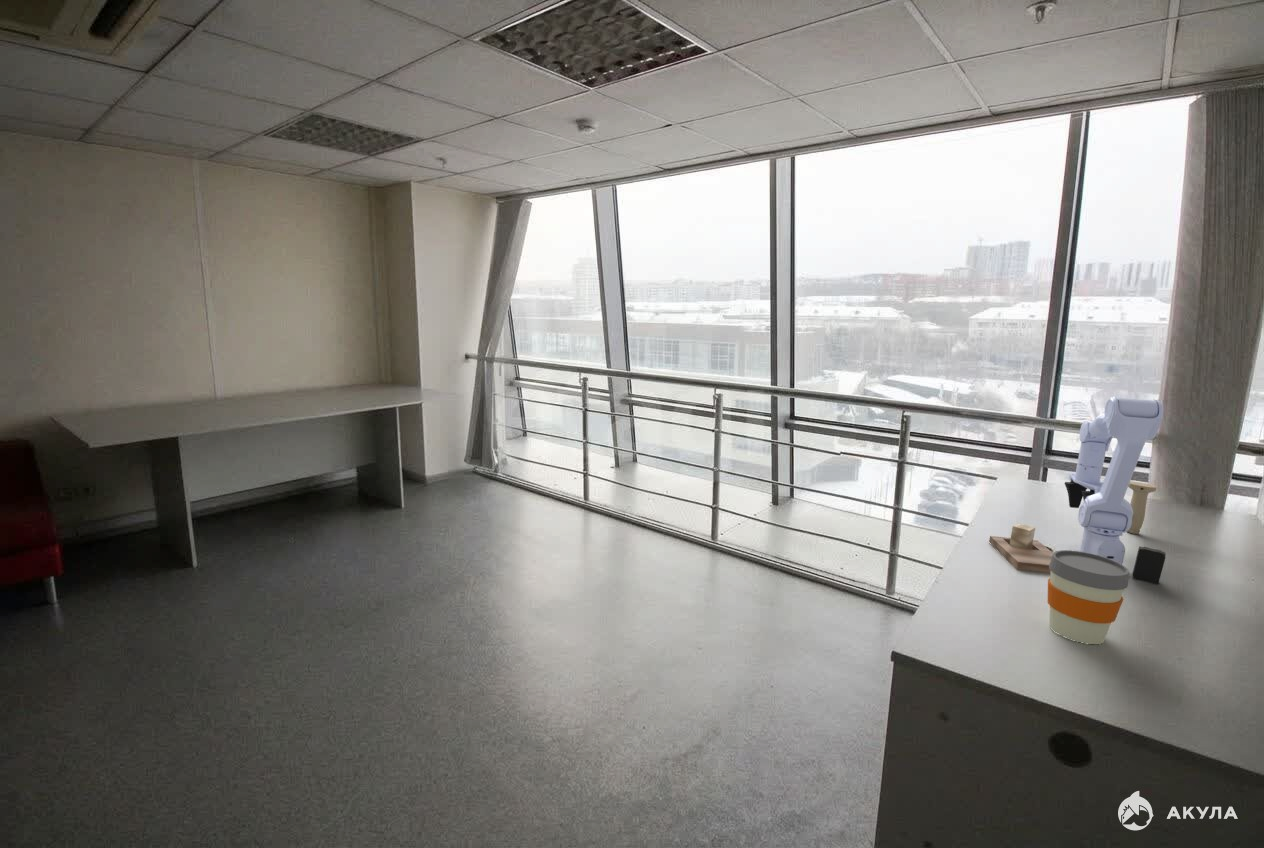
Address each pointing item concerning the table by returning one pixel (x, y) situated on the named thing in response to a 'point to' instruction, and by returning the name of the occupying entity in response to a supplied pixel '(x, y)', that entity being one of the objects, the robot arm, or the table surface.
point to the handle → (1139, 504)
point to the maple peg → (1022, 536)
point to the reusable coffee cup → (1084, 594)
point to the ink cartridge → (1148, 565)
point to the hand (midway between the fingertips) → (1081, 511)
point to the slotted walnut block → (1024, 555)
